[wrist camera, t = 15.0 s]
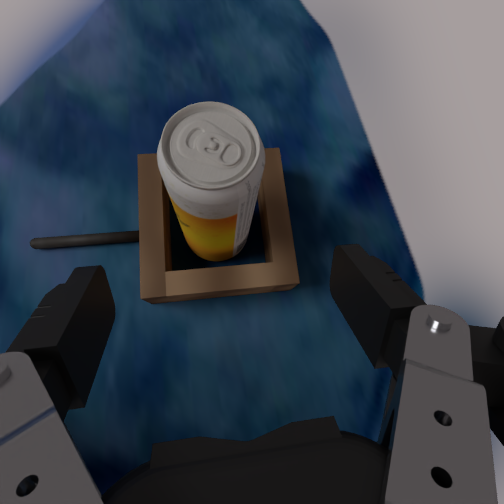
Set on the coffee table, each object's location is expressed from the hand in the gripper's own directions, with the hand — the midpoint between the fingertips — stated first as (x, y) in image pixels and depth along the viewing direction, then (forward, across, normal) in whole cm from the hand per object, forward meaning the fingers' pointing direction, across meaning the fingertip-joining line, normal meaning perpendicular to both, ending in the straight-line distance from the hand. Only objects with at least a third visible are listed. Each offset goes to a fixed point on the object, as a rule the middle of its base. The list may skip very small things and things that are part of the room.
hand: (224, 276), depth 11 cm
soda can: (+19, 0, +8) cm, 20 cm away
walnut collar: (+19, +5, +7) cm, 21 cm away
